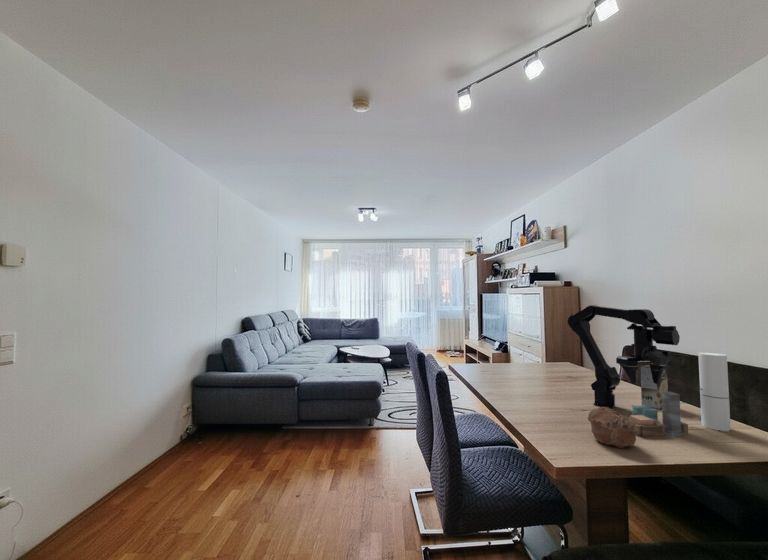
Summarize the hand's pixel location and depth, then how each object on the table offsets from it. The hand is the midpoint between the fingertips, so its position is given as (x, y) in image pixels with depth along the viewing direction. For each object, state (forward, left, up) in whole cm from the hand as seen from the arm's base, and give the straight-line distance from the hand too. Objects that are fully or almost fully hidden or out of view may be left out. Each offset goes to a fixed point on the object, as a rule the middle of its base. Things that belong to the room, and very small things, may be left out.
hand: (644, 383), depth 128 cm
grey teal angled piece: (+4, -11, -12) cm, 17 cm away
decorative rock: (-6, -37, -12) cm, 39 cm away
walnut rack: (+3, -17, -12) cm, 21 cm away
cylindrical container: (+19, +2, -12) cm, 23 cm away
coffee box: (+2, +19, -12) cm, 23 cm away
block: (0, -19, -12) cm, 23 cm away
